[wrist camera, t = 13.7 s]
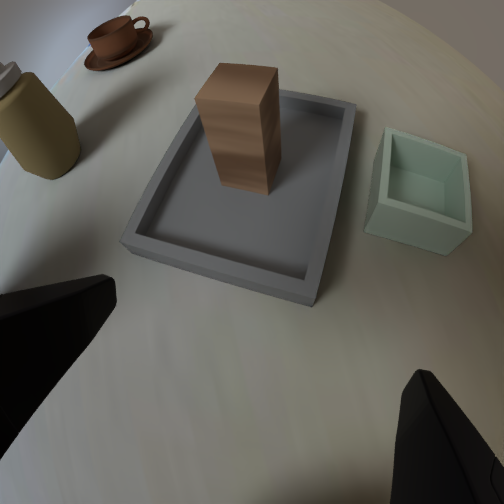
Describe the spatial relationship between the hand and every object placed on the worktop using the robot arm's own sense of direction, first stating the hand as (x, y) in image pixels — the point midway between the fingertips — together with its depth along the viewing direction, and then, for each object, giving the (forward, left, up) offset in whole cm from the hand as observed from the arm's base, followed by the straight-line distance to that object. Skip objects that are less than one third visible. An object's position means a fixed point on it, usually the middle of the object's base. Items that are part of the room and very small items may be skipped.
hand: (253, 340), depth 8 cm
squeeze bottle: (-17, +27, -14) cm, 35 cm away
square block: (+3, +15, -13) cm, 20 cm away
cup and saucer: (-9, +48, -14) cm, 51 cm away
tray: (+3, +15, -14) cm, 20 cm away
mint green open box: (+15, +8, -14) cm, 22 cm away
